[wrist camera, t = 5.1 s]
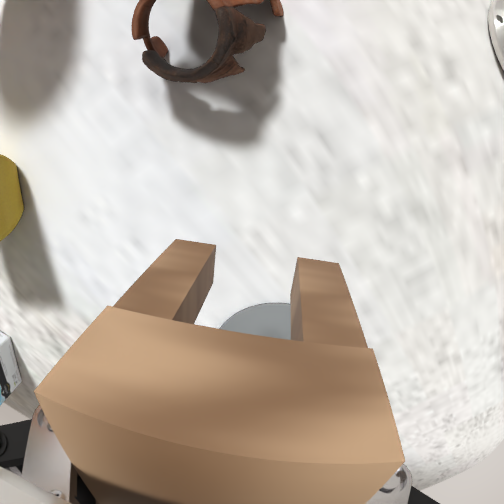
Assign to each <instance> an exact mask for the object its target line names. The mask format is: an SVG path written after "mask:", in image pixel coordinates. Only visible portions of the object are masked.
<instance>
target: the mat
mask: <svg viewBox="0 0 504 504" xmlns="http://www.w3.org/2000/svg"><path fill="white" fill-rule="evenodd" d="M220 329H222V330H228V331H234V332H240V333H246V334H253V335H259V336H266V337H273V338H280V339H287V340H291V304H287V303H265V304H259V305H255V306H251V307H248V308H246V309H243V310H241V311H239V312H238V313H236V314H234V315H233V316H231V317H230V318H229V319H228V320H227V321H226V322H225V323H224V324H223V325H222V326H221V328H220Z"/></svg>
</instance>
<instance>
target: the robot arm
mask: <svg viewBox="0 0 504 504" xmlns="http://www.w3.org/2000/svg"><path fill="white" fill-rule="evenodd" d="M488 23H489V31H490V36H491V40H492V44H493V46H494V49H495V52H496V55H497V57H498V60H499V62H500V64H501V66H502V69H503V70H504V0H492V2H491V4H490V7H489V14H488ZM411 485H412V476H411V473H410V471H409V469H408V468H407V467H406V466H405V465H404V464H402V465H401V467H400V468H399V469H398V470H397V471H396V472H395V473H394V475H393V476H392V477H391V478H390V479H389V480H388V481H387V482H386V483H385V484H384V485H383V486H382V487H381V488H380V489H379V490H378V492H377V493H376V494H375V495H374V496H373V497H372V498H371V499H370V500H369V501H367V502H366V503H365V504H440V503H438V502H436V501H435V500H433V499H431V498H430V497H428V496H427V495H425V494H423V493H422V492H420V491H419V490H417V489H416V488H414V487H413V486H411ZM0 504H99V503H98V501H97V500H96V499H95V497H94V496H93V495H92V493H91V492H90V490H89V489H88V487H87V486H86V485H85V483H84V482H83V480H82V479H81V477H80V476H79V474H78V473H77V471H76V469H75V468H74V466H73V465H72V463H71V461H70V460H69V458H68V456H67V455H66V453H65V451H64V450H63V448H62V446H61V445H60V443H59V441H58V439H57V437H56V436H55V434H54V432H53V430H52V428H51V426H50V424H49V422H48V420H47V418H46V416H45V414H44V412H43V410H42V408H41V406H40V405H39V406H38V407H37V409H36V410H35V412H34V414H33V418H32V419H31V420H26V421H21V422H17V423H12V424H7V425H2V426H0Z"/></svg>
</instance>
